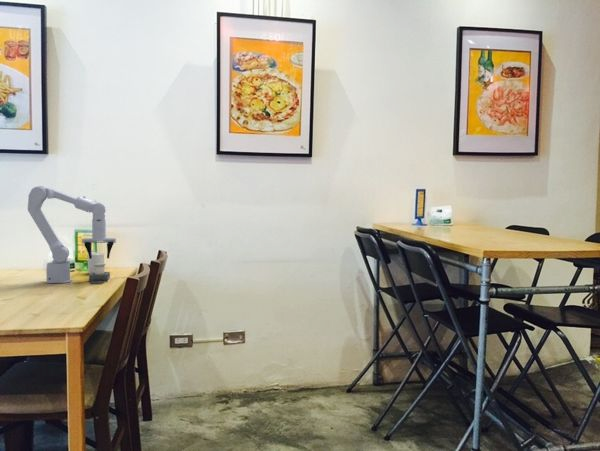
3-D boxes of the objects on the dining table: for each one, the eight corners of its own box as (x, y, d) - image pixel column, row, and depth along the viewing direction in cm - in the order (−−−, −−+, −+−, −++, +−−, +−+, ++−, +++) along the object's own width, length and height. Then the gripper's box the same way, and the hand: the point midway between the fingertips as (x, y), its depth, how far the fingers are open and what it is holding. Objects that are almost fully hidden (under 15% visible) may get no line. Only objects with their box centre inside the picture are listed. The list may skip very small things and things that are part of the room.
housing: (89, 281, 231) (88, 275, 231) (91, 278, 239) (91, 272, 238) (107, 281, 233) (107, 274, 233) (109, 277, 240) (109, 271, 240)
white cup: (87, 272, 253) (86, 252, 252) (103, 271, 256) (103, 252, 256) (87, 275, 246) (87, 255, 245) (105, 274, 249) (104, 254, 248)
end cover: (93, 281, 233) (92, 265, 232) (94, 278, 237) (94, 263, 237) (104, 280, 234) (104, 264, 233) (106, 278, 239) (105, 263, 238)
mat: (89, 284, 225) (89, 283, 225) (91, 281, 231) (91, 280, 231) (103, 284, 226) (103, 283, 226) (105, 281, 232) (105, 280, 232)
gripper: (80, 230, 228) (81, 259, 229) (114, 229, 232) (114, 259, 233) (83, 228, 235) (83, 257, 236) (116, 228, 238) (116, 257, 240)
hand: (99, 258), depth 235 cm, fingers open, 7 cm apart
